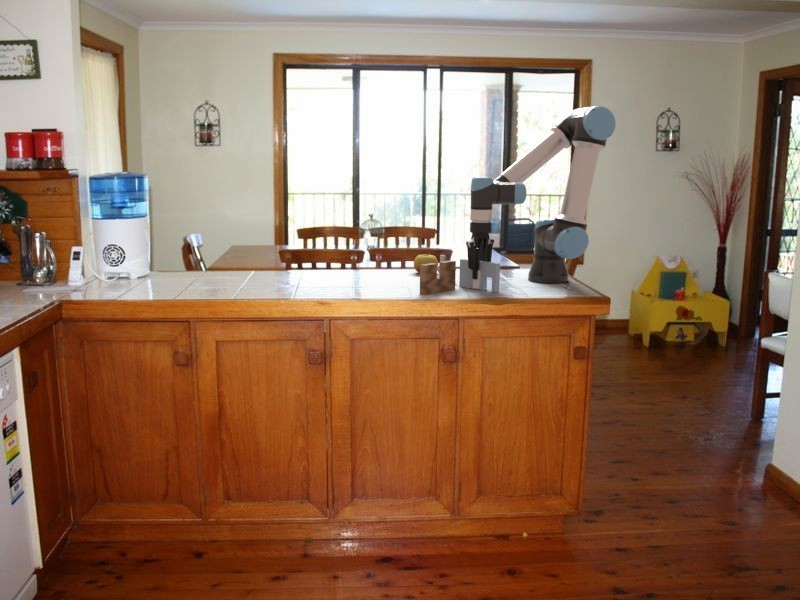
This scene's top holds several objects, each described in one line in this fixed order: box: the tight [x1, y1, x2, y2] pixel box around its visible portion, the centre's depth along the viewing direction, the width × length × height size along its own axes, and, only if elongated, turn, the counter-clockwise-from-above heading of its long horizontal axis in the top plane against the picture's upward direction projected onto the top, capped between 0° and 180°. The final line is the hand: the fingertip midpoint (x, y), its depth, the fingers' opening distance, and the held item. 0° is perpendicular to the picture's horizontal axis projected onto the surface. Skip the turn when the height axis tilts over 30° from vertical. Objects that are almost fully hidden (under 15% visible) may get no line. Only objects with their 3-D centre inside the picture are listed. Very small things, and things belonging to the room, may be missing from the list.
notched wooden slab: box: [419, 259, 457, 296], centre depth 263 cm, size 16×2×10 cm, turn 136°
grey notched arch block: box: [458, 258, 501, 293], centre depth 268 cm, size 16×2×10 cm, turn 46°
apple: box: [413, 253, 439, 274], centre depth 303 cm, size 10×10×8 cm
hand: (478, 287), depth 269 cm, fingers closed on grey notched arch block, 2 cm apart
